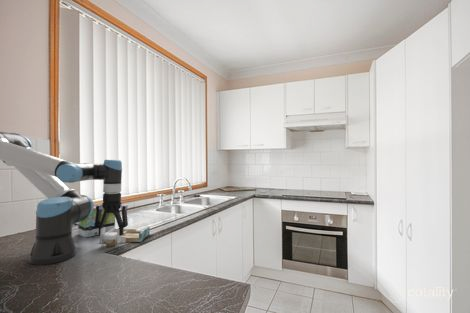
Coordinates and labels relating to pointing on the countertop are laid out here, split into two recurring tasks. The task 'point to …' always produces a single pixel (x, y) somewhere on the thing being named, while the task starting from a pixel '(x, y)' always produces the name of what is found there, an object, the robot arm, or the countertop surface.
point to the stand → (110, 243)
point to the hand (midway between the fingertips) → (110, 242)
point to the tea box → (87, 225)
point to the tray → (136, 235)
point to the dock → (123, 238)
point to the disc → (110, 236)
